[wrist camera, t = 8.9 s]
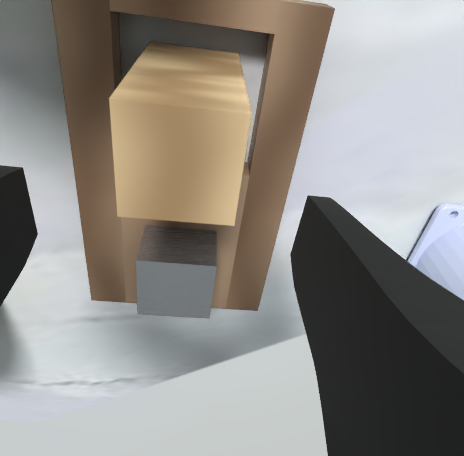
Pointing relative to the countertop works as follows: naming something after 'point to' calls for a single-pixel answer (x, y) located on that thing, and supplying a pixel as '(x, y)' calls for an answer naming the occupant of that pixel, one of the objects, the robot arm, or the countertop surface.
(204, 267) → the gray cube
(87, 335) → the countertop surface
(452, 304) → the robot arm
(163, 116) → the oak peg
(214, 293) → the brown wooden frame
